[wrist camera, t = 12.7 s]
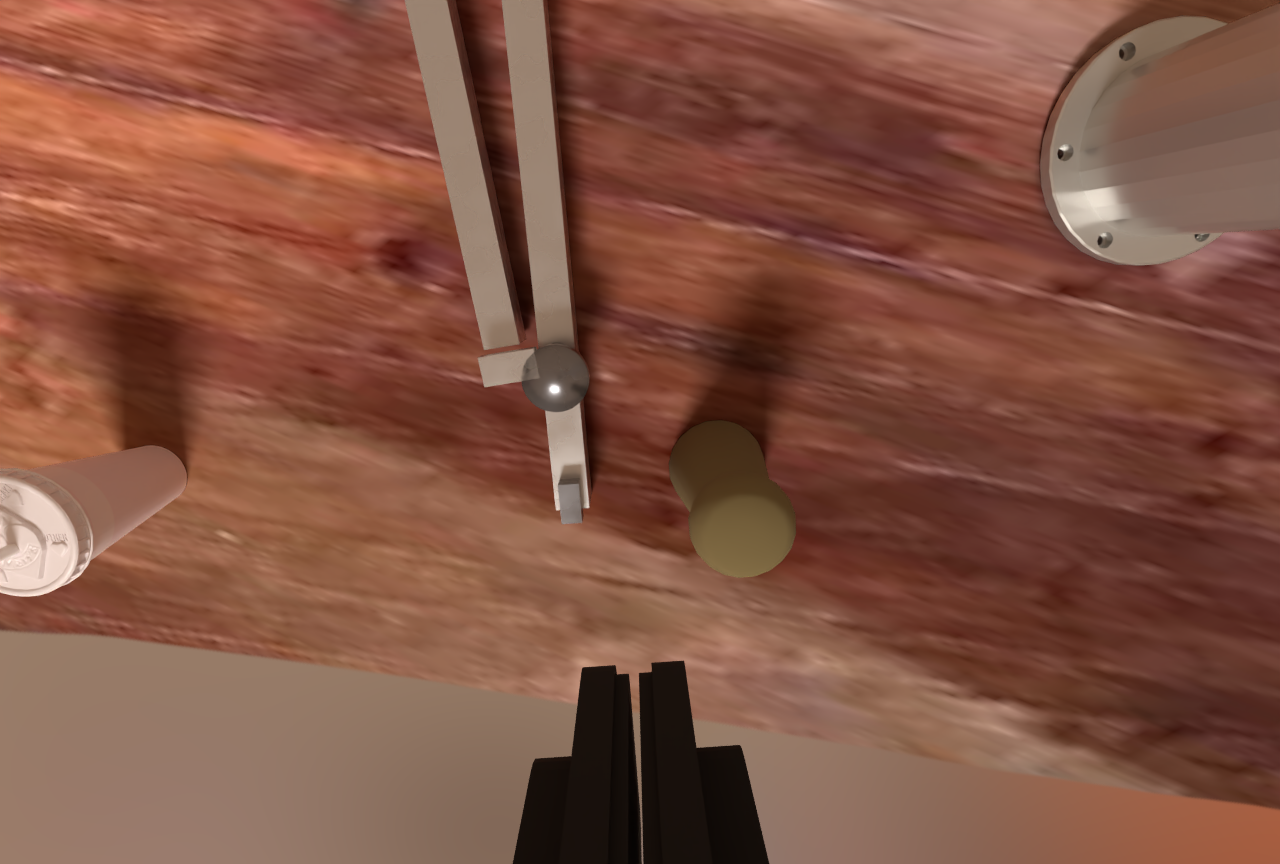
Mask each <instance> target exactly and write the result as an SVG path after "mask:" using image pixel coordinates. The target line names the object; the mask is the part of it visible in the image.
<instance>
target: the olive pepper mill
mask: <svg viewBox="0 0 1280 864" xmlns="http://www.w3.org/2000/svg"><path fill="white" fill-rule="evenodd" d="M669 472H670V479H671V481H672V483H673V486H674V488H675V490H676V492H677V493H678V495H679V497H680V498H681V500H682V501H683V503H684V504H685V506H686V507H687V509H688V510H689V512H690V515H689V518H688V519H689V532H690V538H691V541H692V543H693V545H694V548H695V550H696V552H697V554H698V555H699V556H700V557H701V558H702V559H703V560H704V561H705V562H706V563H707V564H708V565H709V566H710V567H711V568H713V569H715V570H716V571H718V572H720V573H722V574H724V575H728V576H733V577H738V578H741V577H752V576H757V575H759V574H762V573H765V572H767V571H770V570H771V569H772V568H774V567H775V566H776V565H777V564H779V563H780V562H781V561H783V559H784V558H785V556H786V555H787V553H788V552H789V551H790V549H791V547H792V544H793V541H794V538H795V535H796V522H795V512H794V509H793V507H792V504H791V502H790V499H789V498H788V496H787V495H786V494H785V493H784V492H783V490H782V489H781V488H780V487H779V486H778V485H777V484H776V483H775V482H773V481H772V480H770V479H769V476H768V473H767V469H766V465H765V461H764V457H763V453H762V451H761V448H760V446H759V443H758V441H757V440H756V439H755V438H754V437H753V435H752V434H751V433H750V432H749V431H748V430H746V429H745V428H743V427H741V426H740V425H738V424H736V423H732V422H728V421H723V420H716V421H706V422H703V423H701V424H699V425H696V426H694V427H692V428H690V429H689V430H688V431H687V432H686V433H684V434H683V435H682V436H681V437H680V438H679V440H678V441H677V443H676V445H675V446H674V448H673V449H672V453H671V457H670V461H669Z"/></svg>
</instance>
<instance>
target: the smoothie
mask: <svg viewBox="0 0 1280 864" xmlns="http://www.w3.org/2000/svg"><path fill="white" fill-rule="evenodd" d="M186 484H187V473H186V470H185V467H184V465H183V463H182V462H181V460H180V459H179V458H178V457H177V456H176V455H175V454H174V453H172V452H171V451H169V450H168V449H165V448H163V447H160V446H154V445H149V446H143V447H138V448H133V449H128V450H123V451H118V452H113V453H108V454H103V455H98V456H93V457H88V458H83V459H78V460H73V461H69V462H64V463H59V464H54V465H49V466H44V467H38V468H33V469H28V470H23V469H18V468H6V469H0V592H1V593H5V594H8V595H14V596H37V595H42V594H46V593H48V592H51V591H53V590H55V589H57V588H59V587H60V586H63V585H66V584H68V583H70V582H71V581H73V580H74V579H76V578H77V577H79V576H80V575H81V574H82V572H83V571H84V570H85V568H86V567H87V566H88V565H89V562H90V560H92V559H93V558H95V557H96V556H98V555H99V554H100V553H102V552H103V551H104V550H105V549H107V548H108V547H110V546H111V545H112V544H114V543H115V542H116V541H118V540H119V539H121V538H122V537H123V536H125V535H126V534H127V533H129V532H130V531H132V530H133V529H134V528H136V527H137V526H138V525H140V524H141V523H142V522H144V521H145V520H147V519H148V518H149V517H151V516H152V515H153V514H155V513H156V512H158V511H159V510H160V509H162V508H163V507H164V506H166V505H167V504H169V503H170V502H171V501H173V500H174V499H175V498H177V497H178V496H179V495H181V493H182V492H183V491H184V489H185V487H186Z"/></svg>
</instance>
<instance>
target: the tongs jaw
mask: <svg viewBox="0 0 1280 864" xmlns="http://www.w3.org/2000/svg"><path fill="white" fill-rule="evenodd" d="M405 3H406V8H407V12H408V17H409V21H410V25H411V30H412V34H413V39H414V43H415V47H416V52H417V56H418V61H419V65H420V70H421V74H422V78H423V83H424V87H425V92H426V96H427V100H428V105H429V109H430V114H431V118H432V122H433V127H434V131H435V136H436V140H437V145H438V149H439V153H440V158H441V162H442V167H443V171H444V175H445V180H446V184H447V189H448V193H449V197H450V202H451V206H452V211H453V215H454V219H455V224H456V228H457V233H458V237H459V242H460V246H461V250H462V255H463V259H464V264H465V268H466V272H467V277H468V281H469V286H470V290H471V294H472V299H473V303H474V308H475V312H476V317H477V321H478V325H479V330H480V334H481V339H482V343H483V347H484V350H487V349H493V348H499V347H505V346H511V345H517V344H520V343H522V342H523V341H525V340H526V335H525V330H524V325H523V320H522V315H521V311H520V306H519V301H518V296H517V291H516V287H515V282H514V277H513V272H512V267H511V263H510V258H509V253H508V248H507V243H506V239H505V234H504V229H503V224H502V219H501V215H500V210H499V205H498V200H497V195H496V191H495V186H494V181H493V176H492V172H491V167H490V162H489V157H488V152H487V148H486V143H485V138H484V133H483V128H482V124H481V119H480V114H479V109H478V104H477V100H476V95H475V90H474V85H473V80H472V76H471V71H470V66H469V61H468V56H467V52H466V47H465V42H464V37H463V32H462V28H461V23H460V18H459V13H458V8H457V4H456V0H405ZM478 361H479V366H480V370H481V374H482V379H483V383H484V387H489V386H495V385H501V384H507V383H513V382H519V381H522V386H523V390H524V392H525V394H526V396H527V397H528V399H529V400H530V401H531V402H532V403H533V404H534V405H536V406H537V407H539V408H540V409H543V410H545V411H549V412H563V411H567V410H570V409H572V408H573V407H575V406H576V405H578V404H579V403H580V402H581V400H582V399H583V398H584V396H585V394H586V392H587V390H588V386H589V382H590V373H589V368H588V365H587V363H586V361H585V359H584V358H583V357H582V356H581V354H580V353H579V352H577V351H576V350H575V349H573V348H571V347H569V346H566V345H563V344H549V345H545V346H543V347H541V348H539V349H537V350H536V347H531V348H525V349H519V350H512V351H506V352H500V353H494V354H488V355H482V356H480V357H478Z"/></svg>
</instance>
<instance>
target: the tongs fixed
mask: <svg viewBox="0 0 1280 864" xmlns="http://www.w3.org/2000/svg"><path fill="white" fill-rule="evenodd" d="M502 7H503V16H504V25H505V35H506V44H507V54H508V63H509V73H510V82H511V91H512V101H513V110H514V120H515V129H516V138H517V148H518V157H519V167H520V176H521V186H522V195H523V204H524V214H525V223H526V233H527V242H528V251H529V261H530V270H531V280H532V289H533V299H534V308H535V317H536V327H537V336H538V346H539V348H541V347H543V346H545V345H549V344H563V345H566V346H569V347H571V348H573V349H575V350H576V351H577V352H579V344H578V333H577V322H576V311H575V300H574V288H573V277H572V266H571V255H570V244H569V233H568V222H567V211H566V200H565V188H564V177H563V166H562V155H561V144H560V133H559V122H558V111H557V99H556V88H555V77H554V66H553V55H552V44H551V33H550V22H549V11H548V0H502ZM545 412H546V421H547V430H548V440H549V449H550V459H551V468H552V478H553V487H554V496H555V506H556V510H560V513H561V522H562V524H570V523H582V521H583V508H589V507H590V501H591V495H592V489H591V477H590V466H589V455H588V444H587V433H586V422H585V411H584V400H583V399H582V400H581V402H580V403H579V404H578V405H576V406H575V407H573V408H572V409H570V410H567V411H563V412H549V411H545Z"/></svg>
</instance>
